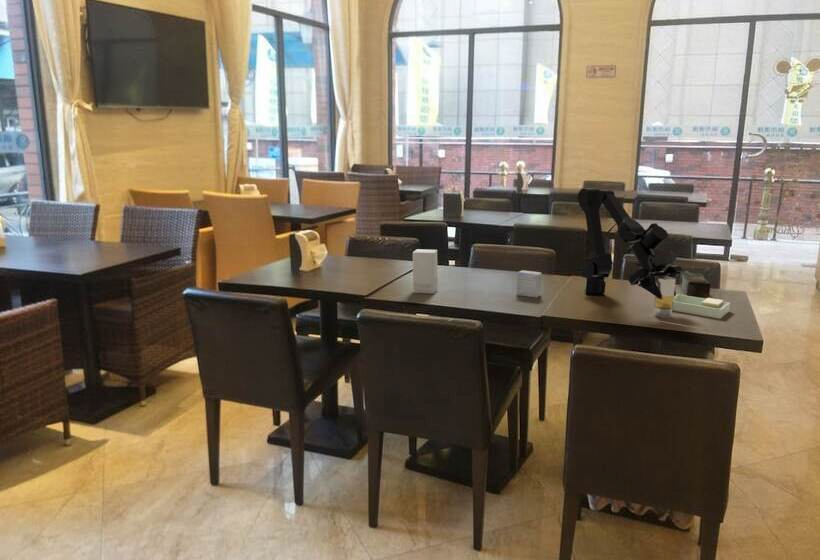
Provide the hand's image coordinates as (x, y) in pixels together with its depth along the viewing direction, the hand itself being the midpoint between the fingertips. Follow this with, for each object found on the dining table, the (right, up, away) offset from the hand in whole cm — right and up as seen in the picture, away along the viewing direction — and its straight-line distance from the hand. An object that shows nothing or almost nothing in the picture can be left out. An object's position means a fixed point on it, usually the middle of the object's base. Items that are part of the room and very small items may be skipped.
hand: (667, 297), depth 207 cm
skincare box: (-78, +1, +32) cm, 84 cm away
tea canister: (-1, -7, +3) cm, 7 cm away
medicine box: (-40, 0, +28) cm, 49 cm away
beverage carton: (+24, 0, +35) cm, 43 cm away
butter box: (+17, -5, +7) cm, 19 cm away
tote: (+14, -5, +10) cm, 18 cm away
